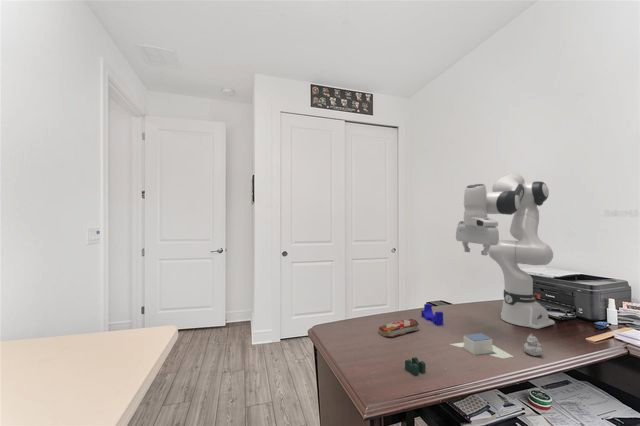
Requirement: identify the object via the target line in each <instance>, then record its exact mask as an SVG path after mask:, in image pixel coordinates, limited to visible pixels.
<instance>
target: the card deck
mask: <svg viewBox="0 0 640 426" xmlns="http://www.w3.org/2000/svg"><path fill="white" fill-rule="evenodd" d="M463 342H464V348H463V349H464V350H465V351H467V352H469V353H470V354H472V355H474V356H475V355H476V356H477V355H483V354H484V355H487V354H486V353H493V348H492V345H493V338H491V337H490V336H488V335H485V334H484V333H482V332H481V333H479V332H478V333H471V334H464V335H463Z"/></svg>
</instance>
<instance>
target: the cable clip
mask: <svg viewBox="0 0 640 426" xmlns="http://www.w3.org/2000/svg"><path fill="white" fill-rule="evenodd" d="M423 307H424V308H423V310H420V311H421V312H420V314H421V318H424V320H426V321H427V322H429V321H430V322H432V323H433V324H434V325H435V326H437V327H438V326H439V327H440V326H441V327H442V326H444V312H443V311H435V312H433V308H432V304H431V303H424V306H423Z"/></svg>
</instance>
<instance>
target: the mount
mask: <svg viewBox="0 0 640 426" xmlns="http://www.w3.org/2000/svg"><path fill="white" fill-rule="evenodd" d="M404 369H405V370H406V371H408V372H409V373H411V374H413V375H414V376H415V377H416V376H419V375H420V373H421V374H425V373H426V362H425V361H424V360H420V361H419V360H418V357H416V356H414V357H412V358H411V359H409V358H408V359H406V360H405V361H404Z"/></svg>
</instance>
